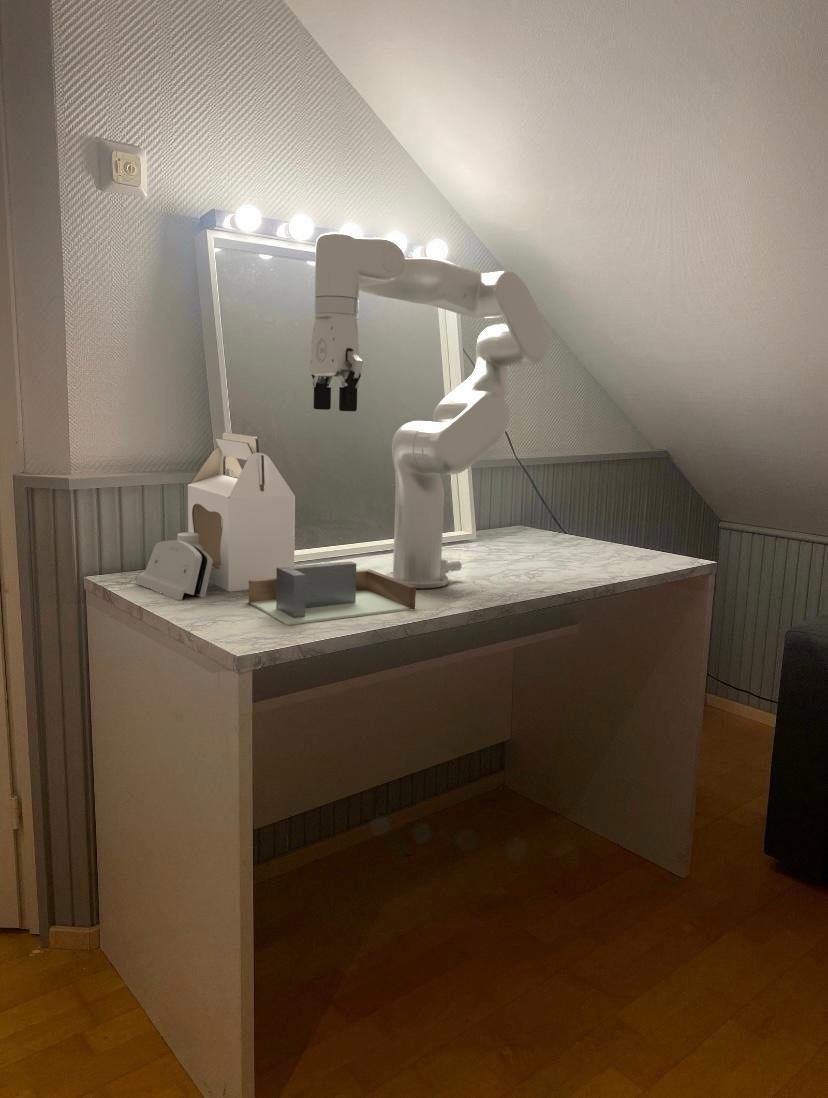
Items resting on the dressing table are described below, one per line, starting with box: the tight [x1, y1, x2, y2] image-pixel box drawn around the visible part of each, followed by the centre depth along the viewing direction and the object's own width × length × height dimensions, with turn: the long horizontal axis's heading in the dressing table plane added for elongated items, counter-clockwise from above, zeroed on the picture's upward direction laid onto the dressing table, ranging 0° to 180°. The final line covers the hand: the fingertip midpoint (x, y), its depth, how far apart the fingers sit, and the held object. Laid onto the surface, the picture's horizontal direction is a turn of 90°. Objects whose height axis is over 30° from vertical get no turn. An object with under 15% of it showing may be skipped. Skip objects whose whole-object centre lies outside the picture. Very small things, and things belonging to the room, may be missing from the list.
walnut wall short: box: [367, 570, 417, 611], centre depth 150 cm, size 1×15×4 cm, turn 33°
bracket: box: [276, 561, 357, 618], centre depth 141 cm, size 7×14×7 cm, turn 123°
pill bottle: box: [176, 531, 203, 550], centre depth 161 cm, size 5×5×9 cm
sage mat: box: [250, 590, 410, 626], centre depth 144 cm, size 23×15×1 cm, turn 123°
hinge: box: [135, 539, 213, 601], centre depth 153 cm, size 17×5×10 cm, turn 45°
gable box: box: [187, 432, 296, 593], centre depth 162 cm, size 22×13×28 cm, turn 34°
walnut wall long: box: [248, 568, 374, 605], centre depth 151 cm, size 24×1×4 cm, turn 123°
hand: (334, 410), depth 148 cm, fingers open, 9 cm apart
